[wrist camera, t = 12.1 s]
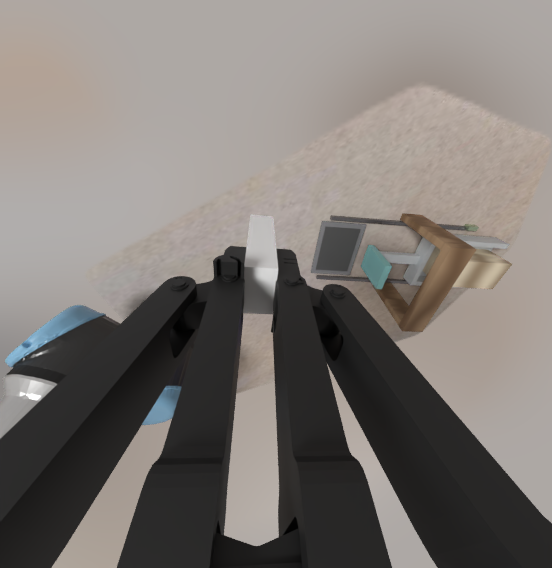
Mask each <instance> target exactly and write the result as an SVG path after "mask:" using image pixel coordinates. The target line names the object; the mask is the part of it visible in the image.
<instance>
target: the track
mask: <svg viewBox="0 0 552 568" xmlns="http://www.w3.org/2000/svg"><path fill="white" fill-rule="evenodd" d="M330 219H331V220H340V221H353V222H365V223H378V224H391V225H404V226H408V225H407V224H405V223H404V222H403V221H394V220H381V219H369V218H356V217H344V216H331V217H330ZM437 225H439V226H440V227H442V228H443V229H456V230H470V231H477V229H478V228H479V227H478V226H476V225H469V224H465V226H457V225H444V224H437ZM316 278H317V279H327V280H346V281H365V282H371V281H370V280H369V278H362V277H344V276H325V275H317V276H316ZM385 283H403V284H409V283H408V282H407V281H406V280H399V279H386V281H385Z"/></svg>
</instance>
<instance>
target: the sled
mask: <svg viewBox="0 0 552 568" xmlns="http://www.w3.org/2000/svg"><path fill="white" fill-rule="evenodd" d="M453 235H455V236H456V237H458V238H459V239H461V240H463V241H464V242H466V243H467V244H469V245H471V246H472V247H474V248H475V249H485V250H489V251H492V249H493V248H501V249H507V247H508V246H509V245H510V244H508V243H506V242H504V241H502V240H500V239H498V238H496V237H483V236H470V235H456V234H453ZM435 247H436V246H435V245H433V244H432V243H431V242H429V241H428V240H427V239H425V238H424V237H423V238H422V240H421V242H420V244H419V246H418V248H417V250H416V252H415V253H400V252H385V251H379V250H378V249H377V248H376V247H375V246H374V245H368V248H367V251H366V253H365V256H364V259H363V262H362V265H361V267H362V269H363V270H364V272H365V273H366V275H367V276H368V278H369V280H370V281H371V283H372V284H373V286H374V287H375V289H382V288H383V285H384V283H385V281H386V279H387V277H388V274H389V272H390V270H391V268H392V266H391V264H390V263H397V264H409V266H408V268H407V270H406V272H405V274H404V276H403V278H404V279H405V280H406V281H407V282H408V283H409V284H410V285H418V286H421V285H422V283H423V281H424V279H425V277H426V276H427V275H426V274H425V273H424V272H423V271H422V270H423V269H424V267H425V265H426V263H427V261H428V259H429V258H430V256H431V254H432V252H433V250H434V248H435ZM456 288H461V287H456Z"/></svg>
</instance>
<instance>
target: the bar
mask: <svg viewBox="0 0 552 568" xmlns="http://www.w3.org/2000/svg"><path fill="white" fill-rule="evenodd" d="M440 251H441V250H440V249H439V248H437V247H435V248H434V250H433V252H432V254H431V256H430V258H429V259H428V261H427V263H426V265H425V267H424V269H423V270H422V271H423V272H424V273H425V274H426V275H427V274H428V272H429V270H430V269H431V267H432V265H433V263H434V262H435V260H436V258H437V256H438V254H439V253H440ZM511 265H512V264H511V263H509V262H508V261H506V260H504V259H503V258H501V257H499V256H498V255H496V254H494V253H493V252H491V251H489V250H485V249H477V250H476V252H475V253H474V255H473V256H472V258H471V259H470V261H469V262H468V264H467V265H466V267H465V268H464V270H463V271H462V273H461V274H460V276H459V277H458V279H457V280H456V282H455V283H454V285H453V286H452V287H461V288H480V289H493V288H494V287H495V285H496V284H497V283H498V281H499V280H500V279H501V278H502V276H503V275H504V274H505V273H506V271H507V270H508V269H509V268H510V266H511Z"/></svg>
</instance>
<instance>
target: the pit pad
mask: <svg viewBox="0 0 552 568" xmlns="http://www.w3.org/2000/svg"><path fill="white" fill-rule="evenodd" d="M365 228H366V224H355V223H342V222H329V221H322V223H321V228H320V232H319V237H318V242H317V246H316V251H315V255H314V260H313V265H312V269H311V273H323V274H341V275H350V272H351V269H352V266H353V263H354V260H355V257H356V254H357V251H358V248H359V245H360V242H361V239H362V236H363V233H364V231H365Z"/></svg>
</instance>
